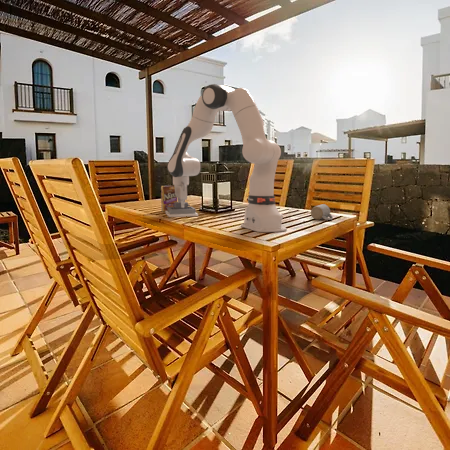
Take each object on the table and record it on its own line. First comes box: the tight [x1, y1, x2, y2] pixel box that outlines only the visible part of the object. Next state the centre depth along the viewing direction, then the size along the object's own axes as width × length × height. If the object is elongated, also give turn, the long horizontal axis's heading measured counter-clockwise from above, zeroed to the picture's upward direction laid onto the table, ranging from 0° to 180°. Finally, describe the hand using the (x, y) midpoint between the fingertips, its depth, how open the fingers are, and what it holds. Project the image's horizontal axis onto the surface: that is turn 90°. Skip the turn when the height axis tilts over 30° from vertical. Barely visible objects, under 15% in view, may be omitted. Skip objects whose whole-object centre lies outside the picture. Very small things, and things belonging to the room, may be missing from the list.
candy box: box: [160, 185, 178, 213], centre depth 199 cm, size 9×4×15 cm, turn 113°
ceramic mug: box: [310, 203, 333, 221], centre depth 175 cm, size 11×8×8 cm
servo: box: [173, 201, 191, 209], centre depth 188 cm, size 4×9×6 cm, turn 106°
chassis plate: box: [164, 206, 199, 218], centre depth 188 cm, size 16×16×4 cm
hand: (181, 206), depth 188 cm, fingers open, 8 cm apart
